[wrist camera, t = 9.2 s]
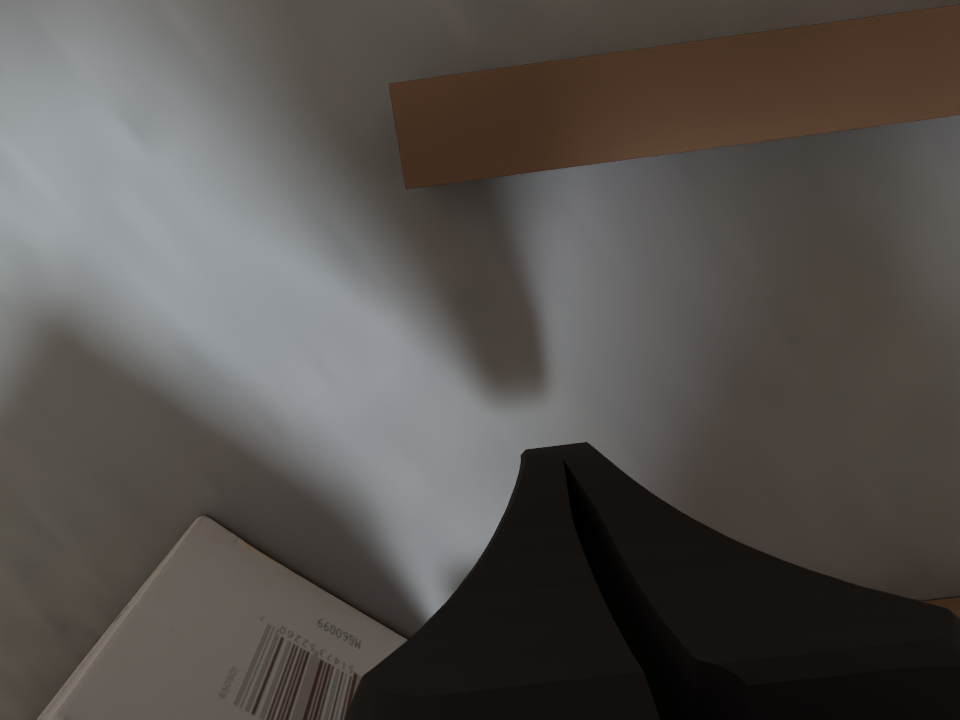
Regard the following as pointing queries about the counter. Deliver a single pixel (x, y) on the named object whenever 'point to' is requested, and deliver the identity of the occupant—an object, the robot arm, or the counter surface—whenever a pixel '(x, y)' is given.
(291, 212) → the counter surface
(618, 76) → the open wooden frame
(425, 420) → the counter surface
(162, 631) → the small box
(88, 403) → the counter surface
